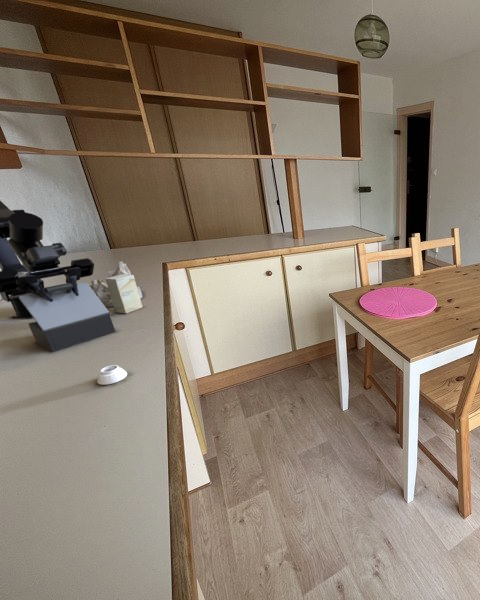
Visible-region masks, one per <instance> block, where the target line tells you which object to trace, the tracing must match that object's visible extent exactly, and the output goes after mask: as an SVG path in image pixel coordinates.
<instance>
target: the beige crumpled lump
mask: <svg viewBox="0 0 480 600" xmlns="http://www.w3.org/2000/svg"><path fill="white" fill-rule="evenodd" d="M129 269H130V268H129V267H128V266H127V263H124V262H123V261H118V266H117V268H116V270H109V271H107V274H108V278H110V277H113V276H118V275H122V274H130V275H132V274H131V271H130V270H129ZM89 286H90V287H91V289H92V290H93V291H94V293H95V294H96V295H97V297H98V298H99V299H100V301H101V302H102V303H103V305H104V306H105V307H106V308H111V307H114V305H113V301H112V298H111V295H110V292H109V289H108V286H107V283H106V280H105V279H102V278H98V279H94V280H91V285H89ZM136 286H137V284H136ZM137 289H138V293H139V296H140V299H142V298H143V293H142V290H141V287H140V286H137Z"/></svg>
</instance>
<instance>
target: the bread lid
mask: <svg viewBox="0 0 480 600" xmlns="http://www.w3.org/2000/svg"><path fill="white" fill-rule="evenodd" d="M90 286H91V285H90V284H88V282H83V283H77V287H78V293H79V295H78V296H76V295H75V294H74V293H73V292H72V290H71V288H73V285H72V284H71V283H66V282H65V283H61V284H56V285H52V286H51V285H50V286H45V287H44V288H45V290H46V291H47V292H48V293H49V294H50V296H51V297H52V299H53V302H50V301H48V300H46V299H44V298H42V297H40V296H37V295H35V294H28V295H23V296H19V299H20V300H21V302H22V303H23V304H24V306H25V307H26V309H27V310H28V311H29V313H30V314H31V315H32V317H33V318H32V319H34V322H37V323H38V325H39V326H40V328H41V329H42V330H43V332H44V331H48V330H51V329H55V328H58V327H62V326H65V325H69V324H73V323H76V322H80V321H83V320H87V319H90V318H94V317H98V316H101V315H105V314H110V311H109V310H108V307H105V306H104V305H103V303H102V302H101V301H100V299H99V298H98V297H97V295H96V294H95V293H94V291H93V290H92V289H91V287H90Z"/></svg>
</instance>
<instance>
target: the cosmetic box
mask: <svg viewBox="0 0 480 600" xmlns="http://www.w3.org/2000/svg"><path fill="white" fill-rule="evenodd" d="M104 280H106V283H107V286H108V289H109V292H110V295H111V298H112V301H113V305H114V306H113V307H114V310H115V313H118V314H129V313H132V312H134V311H137V310H140V309H142V308H144V306H143V304H142V300H141V298H140V296H139V293H138V289H137V287H138V286H136V285H137V283H136V279H135V276H134V274H131V275H130V274H122V275H118V276H113V277H110V278H109V277H106V278H105V279H104Z"/></svg>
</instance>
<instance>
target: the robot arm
mask: <svg viewBox="0 0 480 600" xmlns="http://www.w3.org/2000/svg"><path fill="white" fill-rule="evenodd" d="M43 239H44V221H43V218H42V217H40V216H38V215H36V214H34V213H30V212H26V211H25V210H24V209H12V210H11V209H10V208H9V207H8V206H7V205H5V203H3V201H2V200H0V297H1V299H2V300H3V301H5V302H7V303H9V302H10V304H11V305H12V308H13V310H14V312H15V314H14V315H11V316H10V317H11V318H12V319H34V318H33V317H32V315H31V314H30V313H29V311H28V310H27V309H26V307H25V306H24V304H23V303H22V302H21V300H20V299H19V296H23V295H28V294H35V295H37V296H40V297H42V298H44V299H46V300H48V301H50V302H53V299H52V297H51V296H50V294H49V293H48V292H47V291H46V290H45V288H46V287H45V281H44V280H43V279H47V278H53V277H58V276H65V284H66V283H71V284H72V285H73V288H71V290H72V292H73V293H74V294H75V295H76V296H78V295H79V293H78V287H77V284H78V281H80V280H81V279H83V278H87V277H90V276H93V274H94V270H95V269H94V268H95V263H94V262H93V260H92V259H90V258H88V257H84V258H78V259H73V260H72V259H71V261H70V265H66V266H59V265H61V261H60V259H59V258H61V257H63V256H66V255H67V254H68V250H67V249H66V247H65V246H64V244H63V243H62V242H56V243H55V242H53V243H51V245H44V244H43V243H42V242H41V241H42V240H43Z"/></svg>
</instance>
